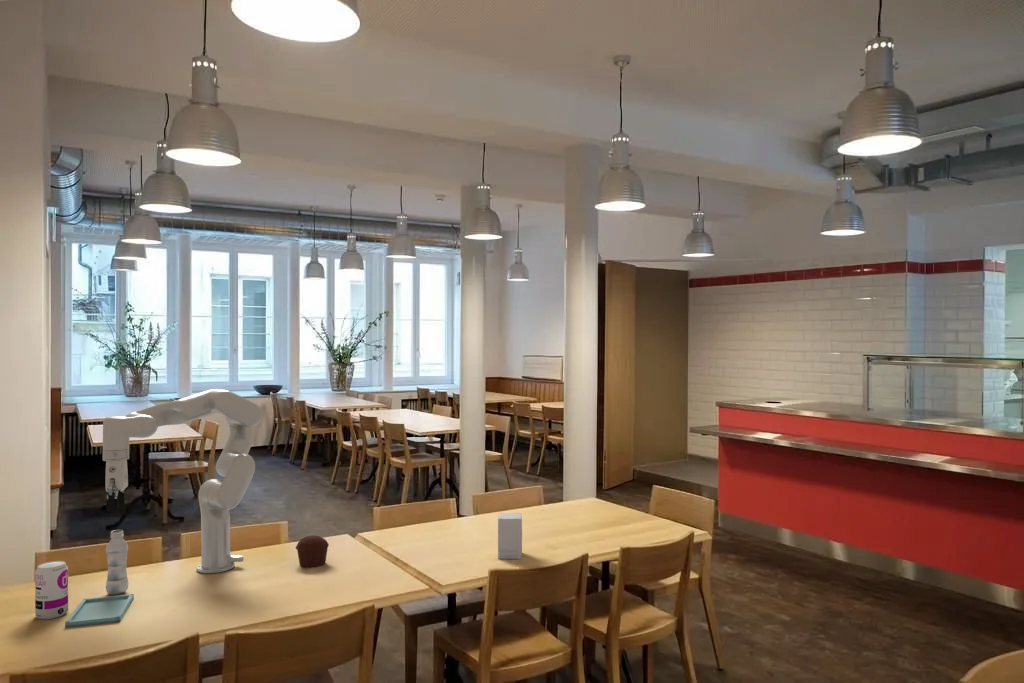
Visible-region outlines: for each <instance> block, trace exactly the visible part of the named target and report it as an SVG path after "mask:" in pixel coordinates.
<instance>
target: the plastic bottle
mask: <svg viewBox="0 0 1024 683" xmlns="http://www.w3.org/2000/svg"><path fill="white" fill-rule="evenodd" d="M124 534H125V533H124V530H123V529H115V530H111V531H110V536H109V538H110V540H109V542H108V543H107V545H106V547H105V554H106V558H107V559H106V560H107V579H106V583H105V589H106V593H107V594H108V595H110V596H116V595H122V594H123V593H126V592H127V590H128V588H129V578H128V571H127V560H128V558H127V556H128V551H129V545H128V542H127V540H125V538H124V536H125V535H124Z"/></svg>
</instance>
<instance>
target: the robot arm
mask: <svg viewBox="0 0 1024 683" xmlns="http://www.w3.org/2000/svg"><path fill="white" fill-rule="evenodd" d="M213 414H222V415H224V416H225V420H226V421H227V424H228V427H229V436H228V439H227V441H226V442H225V445H224V447H223V449H222V451H221V454H220V455H219V457H218V459H217V461H216V464H215V471H216V473H217V474H218V475H219V476H221V477H224V478H223V479H219V478H211V479H208V480H206V481H205V482H203V483H202V484H201V485H200V487H199V490H198V504H199V510H200V527H201V528H200V529H201V530H200V531H201V532H200V533H201V534H200V535H201V536H200V538H201V542H200V544H201V545H200V546H201V548H200V549H201V552H200V553H201V559H200V560H201V563H199V564H198V565H197V566H196V571H197V572H198V573H202V574H218V573H223V572H227V571H230V570H232V569H234V568H235V566H236V563H241V562H244V555H240V554H238V555H234V554H232V553H233V552H232V551H231V515H230V514H231V513H230V510H232V509H233V510H234V508H236V507H238V505H239V504H240V503H241V501H242V499H243V498H244V496H245V493H246V492H247V489H248V487H249V485H250V484H251V481H252V479H253V476H254V475H255V471H256V462H255V460H254V458H253V456H251V455H250V454H249V453H250V450H251V447H252V445H253V441H254V439H255V438H254V429H253V427H256V426H257V425H260V423H261V421H262V420H263V416H264V415H263V410H262V408H261V407H260V405H258V404H257V403H255V402H252V401H251V400H249V399H247V398H245V397H242V396H241V395H239V394H237V393H235V392H233V391H230V390H227V389H220V388H212V389H207V390H203V391H202V392H198V393H196V394H192V395H189V396H186V397H182V398H179V399H176V400H173V401H172V400H171V401H168V402H165V403H160V404H157V405H156V404H155V405H153V406H149V407H146V408H143V409H139V410H135V411H133V412H131V413H128V414H127V415H125V416H123V415H117V416H116V415H114V416H108V417H105V418H104V419H103V421H102V461H103V462H105V478H104V479H105V491H106V512H107V513H112V512H113V513H114V512H116V513H117V512H119V506H124V505H125V503H126V502H125V499H126V498H125V495H126V494H125V490H126V488H128V486H129V474H128V460H130V438H139V439H145V438H149V437H151V436H153V435H154V434H156V432H157V430H158V429H159V427H164V426H175V425H183V424H188V423H190V422H194V421H196V420H199V419H201V418H205V417H207V416H211V415H213Z"/></svg>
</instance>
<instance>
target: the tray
mask: <svg viewBox="0 0 1024 683" xmlns="http://www.w3.org/2000/svg"><path fill="white" fill-rule="evenodd" d="M134 597H135V594H134V593H128V594H116V595H109V596H107V595H106V596H99V597H87V598H83V599H82V600H81V602H80V603H79V604H78V605H77V606H76V608H75V609H74V610H73V612H72V613H71V614H70V615H69V617H68V618H67V620H65V622H64V628H65V629H67V628H75V627H86V626H92V625H103V624H113V623H120V622H121V621H122V619H124V616H125V615H126V612H128V611H127V610H129V607H130V606H131V604H132V602H133V601H134V599H135V598H134Z"/></svg>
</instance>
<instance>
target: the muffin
mask: <svg viewBox="0 0 1024 683" xmlns="http://www.w3.org/2000/svg"><path fill="white" fill-rule="evenodd" d="M329 546H330V544H329V543H328V541H327V540H326V539H325V538H324V537H322V536H320V535H307V536H304V537H303V538H301V539H300V540H299V541H298V542H297V544H296V546H295V549H296V550H297V555H298V556H297V558H298V562H299V563H298V564H299V566H300V567H301V568H306V569H312V568H313V569H314V568H315V569H316V568H319V567H323V566H324V565H325V564H326V562H327V554H328V548H329Z"/></svg>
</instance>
